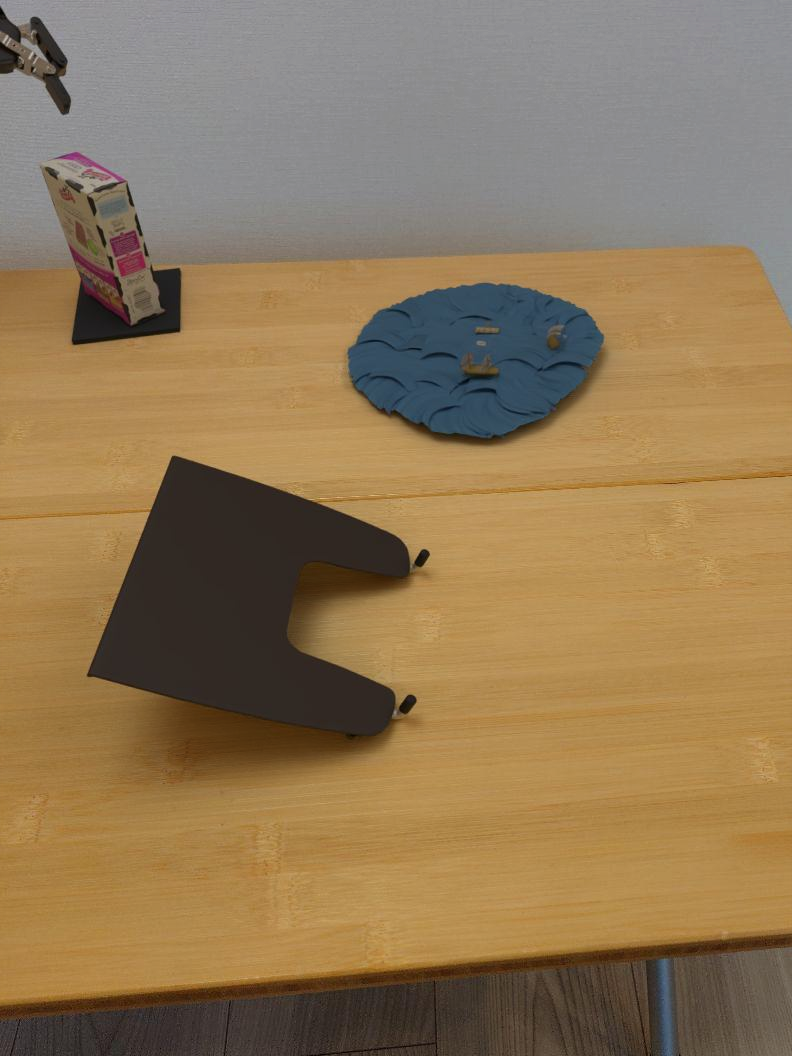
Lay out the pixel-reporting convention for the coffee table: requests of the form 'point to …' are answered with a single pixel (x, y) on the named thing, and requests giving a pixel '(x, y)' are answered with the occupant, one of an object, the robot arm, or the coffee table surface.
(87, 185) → the candy bar box
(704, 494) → the coffee table surface
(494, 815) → the coffee table surface
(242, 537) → the laptop tray
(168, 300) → the mat
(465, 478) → the coffee table surface
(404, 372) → the blue wavy sea disc
